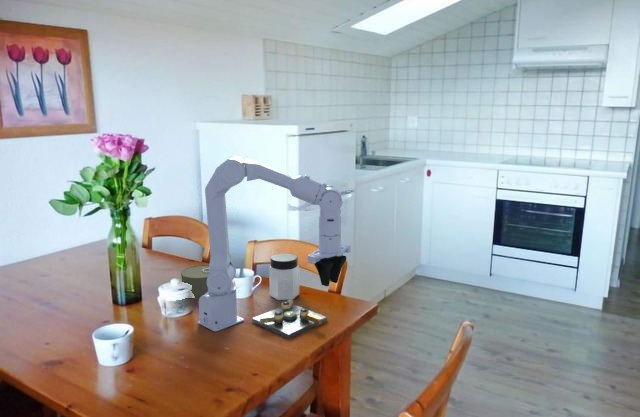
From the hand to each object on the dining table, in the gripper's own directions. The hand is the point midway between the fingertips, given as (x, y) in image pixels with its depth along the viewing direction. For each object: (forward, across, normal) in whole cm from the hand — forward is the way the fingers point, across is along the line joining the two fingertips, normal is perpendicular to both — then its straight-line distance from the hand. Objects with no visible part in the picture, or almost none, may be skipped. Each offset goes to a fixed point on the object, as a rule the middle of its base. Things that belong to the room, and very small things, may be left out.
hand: (329, 283), depth 134 cm
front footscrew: (+9, -6, +1) cm, 11 cm away
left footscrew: (+9, -14, +8) cm, 18 cm away
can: (+11, -12, +42) cm, 45 cm away
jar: (+11, +4, +22) cm, 25 cm away
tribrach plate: (+10, -8, +7) cm, 15 cm away
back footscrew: (+9, -4, +11) cm, 15 cm away
